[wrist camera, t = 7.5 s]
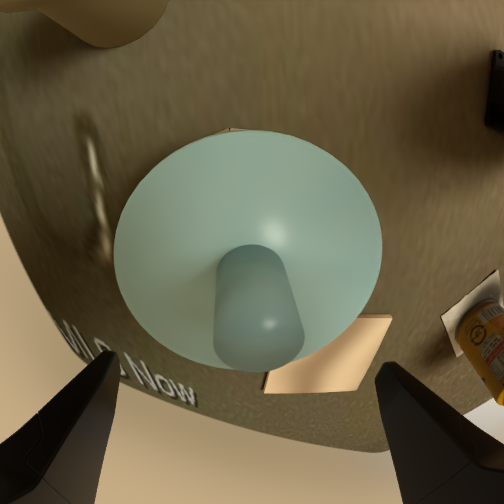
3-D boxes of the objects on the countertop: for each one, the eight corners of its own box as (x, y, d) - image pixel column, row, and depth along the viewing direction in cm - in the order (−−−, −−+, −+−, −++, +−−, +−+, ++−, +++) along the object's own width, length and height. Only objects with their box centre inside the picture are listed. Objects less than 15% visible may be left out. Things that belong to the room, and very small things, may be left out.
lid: (404, 157, 13) (474, 192, 9) (336, 361, 19) (359, 428, 14) (118, 119, 12) (58, 136, 7) (129, 349, 18) (109, 420, 13)
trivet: (390, 314, 24) (392, 318, 23) (354, 386, 28) (356, 390, 27) (283, 311, 23) (284, 315, 22) (263, 388, 27) (264, 393, 26)
